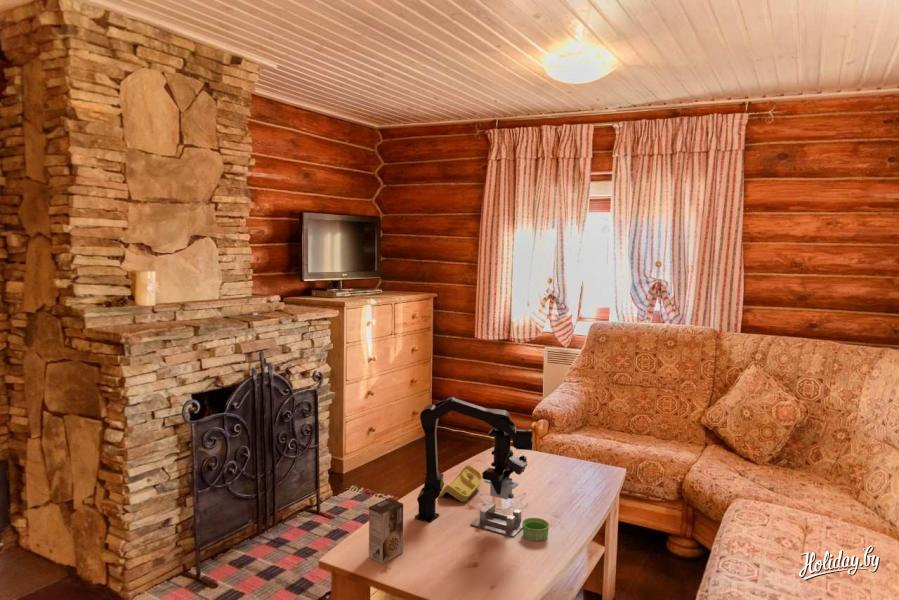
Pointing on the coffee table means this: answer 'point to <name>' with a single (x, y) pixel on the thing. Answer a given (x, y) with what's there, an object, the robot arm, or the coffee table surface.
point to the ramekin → (535, 529)
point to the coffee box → (385, 530)
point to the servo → (503, 488)
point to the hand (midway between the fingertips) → (501, 492)
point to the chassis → (499, 521)
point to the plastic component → (464, 484)
